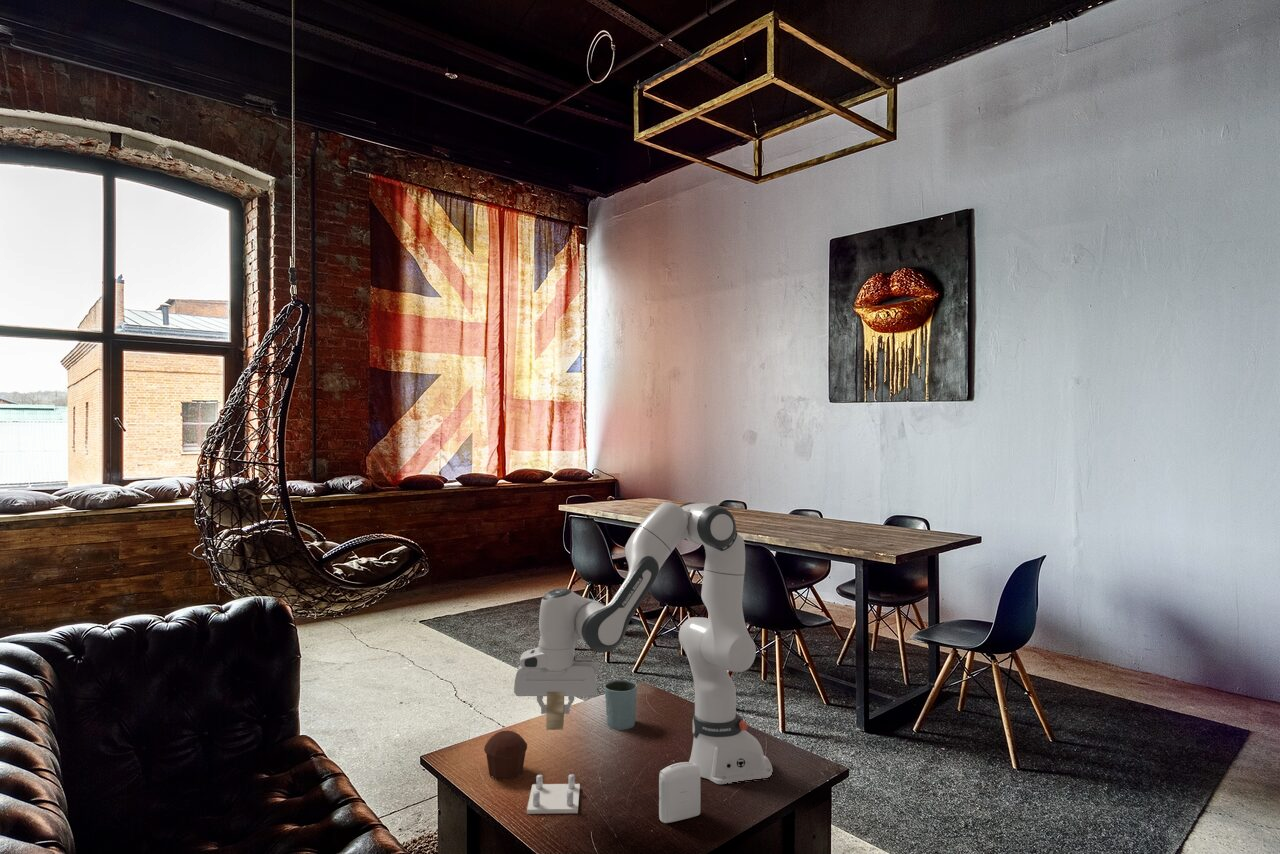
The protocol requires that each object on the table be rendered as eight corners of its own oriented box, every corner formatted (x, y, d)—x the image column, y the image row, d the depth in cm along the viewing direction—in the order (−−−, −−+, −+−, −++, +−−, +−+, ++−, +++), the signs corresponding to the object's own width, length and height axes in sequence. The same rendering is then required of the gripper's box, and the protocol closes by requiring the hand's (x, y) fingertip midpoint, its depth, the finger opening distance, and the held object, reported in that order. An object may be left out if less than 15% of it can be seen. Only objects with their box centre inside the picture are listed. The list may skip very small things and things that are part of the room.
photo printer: (663, 825, 162) (664, 772, 162) (655, 816, 166) (656, 763, 166) (703, 816, 166) (703, 764, 166) (694, 807, 170) (695, 756, 170)
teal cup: (639, 729, 215) (640, 689, 215) (607, 732, 212) (607, 692, 212) (632, 716, 224) (633, 678, 224) (601, 718, 222) (601, 680, 222)
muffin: (533, 776, 185) (534, 737, 185) (493, 786, 179) (493, 747, 179) (516, 757, 195) (517, 721, 195) (477, 767, 189) (478, 730, 189)
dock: (579, 787, 179) (579, 771, 179) (577, 813, 167) (577, 796, 167) (532, 788, 178) (532, 772, 178) (526, 813, 166) (527, 796, 166)
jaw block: (563, 723, 175) (564, 686, 175) (562, 729, 171) (563, 692, 171) (547, 723, 175) (548, 686, 175) (546, 729, 171) (546, 692, 171)
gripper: (598, 652, 177) (598, 708, 176) (516, 652, 176) (515, 708, 175) (598, 660, 170) (597, 718, 170) (513, 660, 169) (512, 718, 169)
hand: (555, 713), depth 173 cm, fingers closed on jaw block, 4 cm apart
